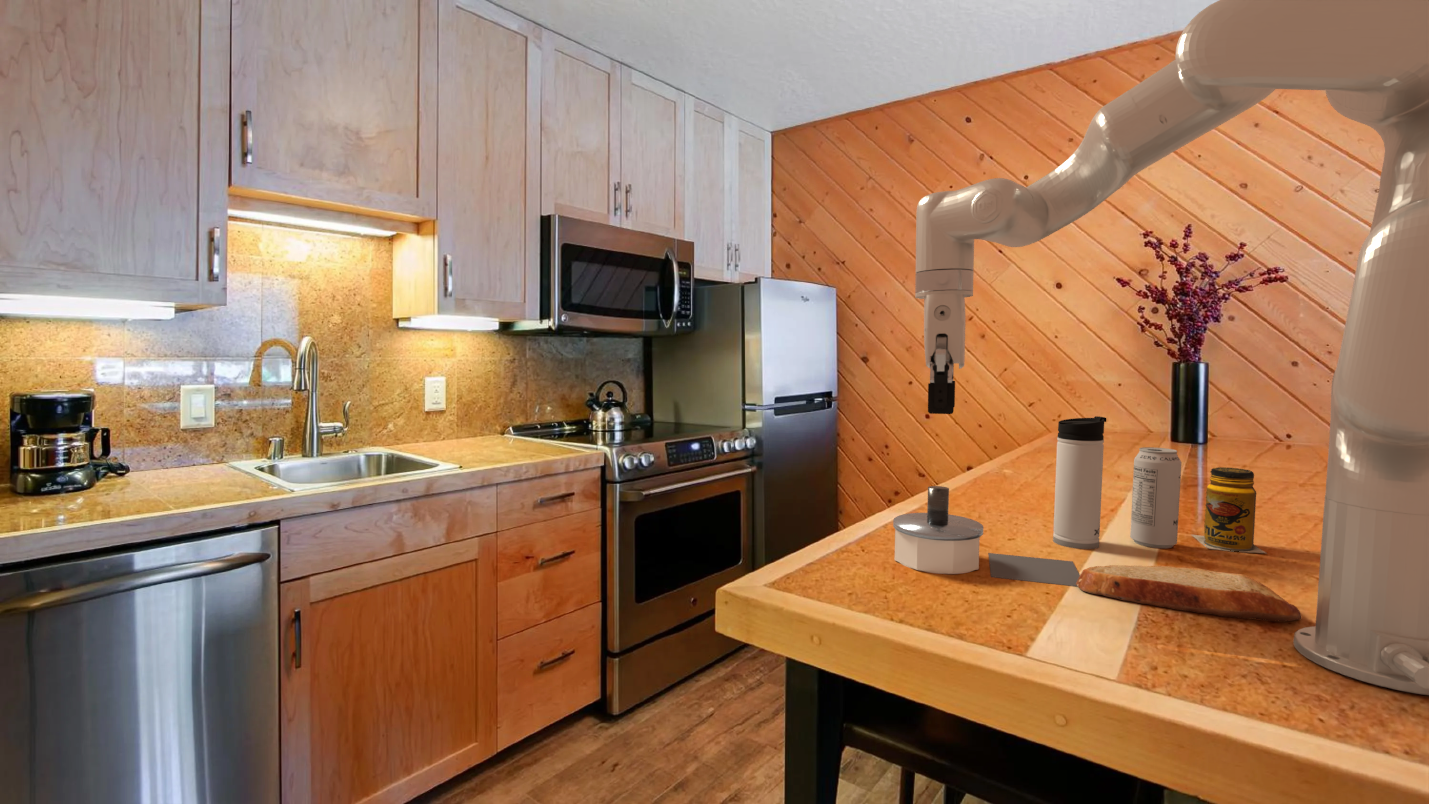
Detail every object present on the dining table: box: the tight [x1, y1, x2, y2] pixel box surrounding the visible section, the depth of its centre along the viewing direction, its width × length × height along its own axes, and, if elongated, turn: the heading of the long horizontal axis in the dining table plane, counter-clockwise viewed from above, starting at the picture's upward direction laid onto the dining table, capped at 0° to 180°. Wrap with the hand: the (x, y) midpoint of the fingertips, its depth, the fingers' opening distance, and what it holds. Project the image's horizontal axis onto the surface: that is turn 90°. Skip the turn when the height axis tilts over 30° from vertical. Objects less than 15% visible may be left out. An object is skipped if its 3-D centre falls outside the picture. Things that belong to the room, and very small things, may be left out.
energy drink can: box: [1129, 446, 1182, 549], centre depth 102 cm, size 6×6×15 cm
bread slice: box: [1076, 564, 1302, 623], centre depth 79 cm, size 18×18×4 cm
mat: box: [988, 552, 1081, 588], centre depth 90 cm, size 11×11×1 cm
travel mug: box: [1052, 415, 1107, 550], centre depth 102 cm, size 6×7×20 cm
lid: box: [892, 485, 984, 541], centre depth 93 cm, size 12×12×6 cm
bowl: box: [894, 528, 981, 575], centre depth 93 cm, size 11×11×5 cm
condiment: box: [1191, 466, 1268, 555], centre depth 102 cm, size 7×8×12 cm
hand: (941, 410), depth 92 cm, fingers open, 9 cm apart
